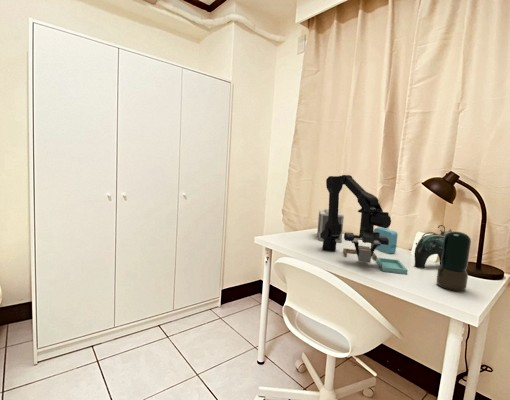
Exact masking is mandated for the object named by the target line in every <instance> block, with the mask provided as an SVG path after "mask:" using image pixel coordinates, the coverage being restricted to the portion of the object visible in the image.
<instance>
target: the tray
mask: <svg viewBox="0 0 510 400" xmlns="http://www.w3.org/2000/svg"><path fill="white" fill-rule="evenodd" d="M375 262H376V263H377V265H378V267H379V269H380V270H381V271H382V272H383V273H393V274H399V275H408V269H407V267H406V266H405V265H404V264H403V263H402V262H401V260H400V259H393V258H386V257H384V258H383V257H378V256H377V257H376V260H375Z"/></svg>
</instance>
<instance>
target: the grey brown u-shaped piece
mask: <svg viewBox="0 0 510 400" xmlns="http://www.w3.org/2000/svg"><path fill="white" fill-rule="evenodd" d="M342 254H343V256H344V258H347V257H348V254H354V255H357V253H356V249H355V248H354V249H353V248H346V247H345V248H343V250H342ZM376 257H377V258H378V256H377V255H376V253H375V251H374V252H373V254H372V256H371V258H372V259H373V261H376Z"/></svg>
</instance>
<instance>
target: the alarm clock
mask: <svg viewBox="0 0 510 400" xmlns="http://www.w3.org/2000/svg"><path fill="white" fill-rule="evenodd" d="M328 214H329V209H326V208H325V209H323V210H319V211H318V218H317V219H318V220H317V230H316V231H317V233H316V235H317V237H318V241H319V242H322V243H323V239H322V238H321V237H320V234H321V233H322V232H323V231H324V229H325V224H326V223H327V221H328ZM344 217H345V215H344V214H343V213H342V212H341V211H338V221H339V223H340V224H342V232H341V234H340V236H339V238H338V239H336V240H335V241H336V244H342V242H343V241H342V240H343V239H342V238H343V230H344V229H343V228H344V227H343V226H344Z"/></svg>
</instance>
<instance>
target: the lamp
mask: <svg viewBox="0 0 510 400" xmlns="http://www.w3.org/2000/svg"><path fill="white" fill-rule="evenodd" d="M471 243H472V241H471V238H470V236H469V235H468V234H467V233H464V232H462V231H457V230H456V231H452V232H448V233H447V234H446V235H445V236H444V241H443V248H442V256H441V266H440V265H439V267H438V268H437V273H436V283H437V285H439V287H441V288H443V289H446V290H449V291H454V292H462V291H464V290H466V289H467V285H468V277H469V274H468V272H467V268H468V265H469V258H470V251H471Z"/></svg>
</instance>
